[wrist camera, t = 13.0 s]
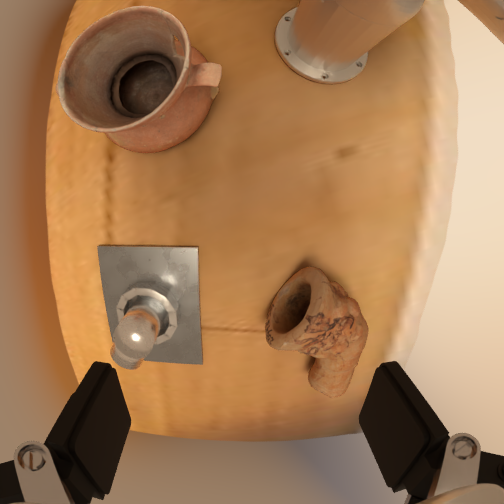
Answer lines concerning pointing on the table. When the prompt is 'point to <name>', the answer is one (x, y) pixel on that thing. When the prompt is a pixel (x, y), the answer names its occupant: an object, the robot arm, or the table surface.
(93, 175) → the table surface
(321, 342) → the clay pipe
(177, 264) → the flange
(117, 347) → the grey rounded piece
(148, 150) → the ceramic jug
